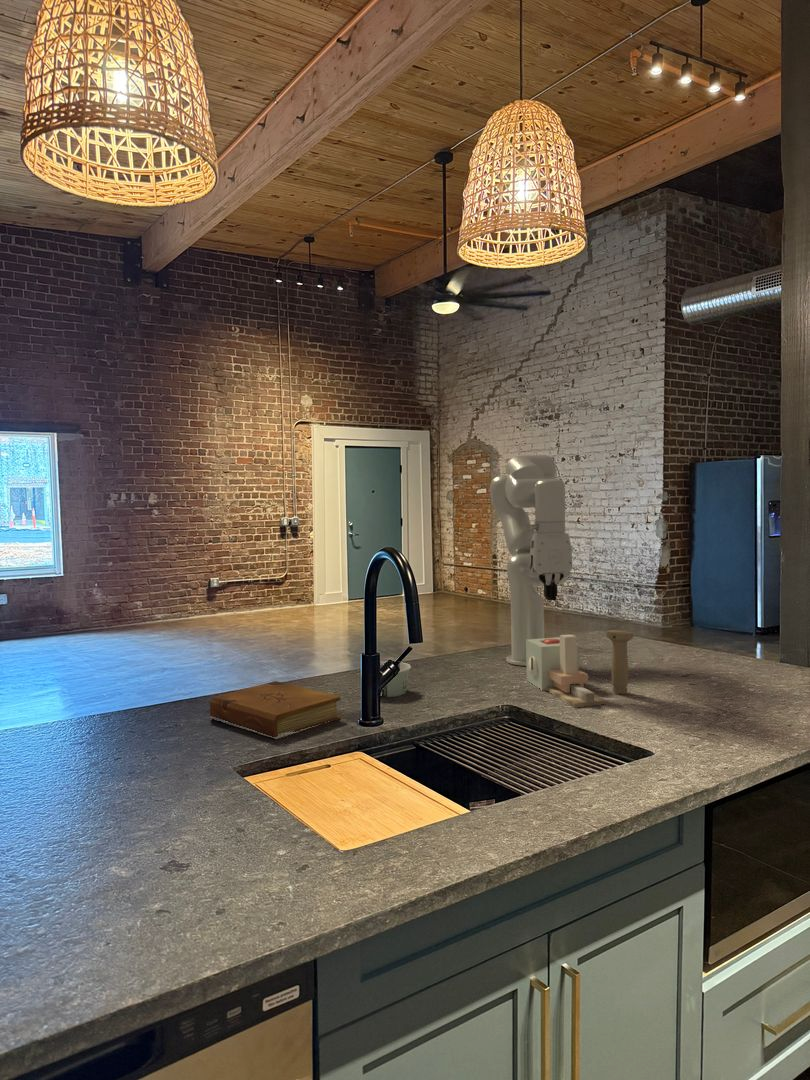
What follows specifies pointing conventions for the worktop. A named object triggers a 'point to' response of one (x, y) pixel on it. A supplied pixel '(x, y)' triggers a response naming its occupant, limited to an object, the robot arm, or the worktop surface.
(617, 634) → the handle
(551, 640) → the button
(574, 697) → the rail
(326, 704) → the diary
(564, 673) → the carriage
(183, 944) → the worktop surface
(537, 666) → the gauge cabinet
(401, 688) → the food container
